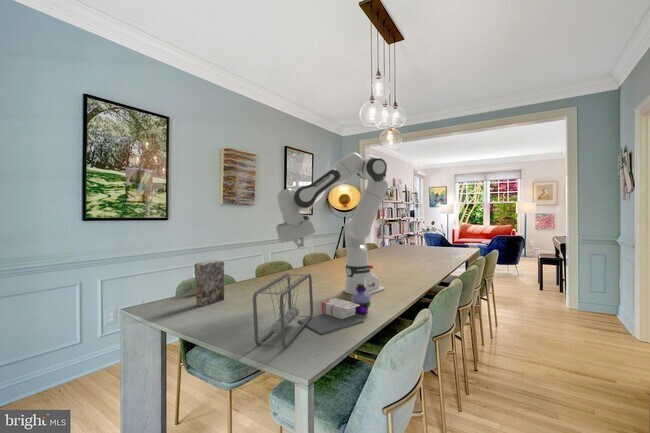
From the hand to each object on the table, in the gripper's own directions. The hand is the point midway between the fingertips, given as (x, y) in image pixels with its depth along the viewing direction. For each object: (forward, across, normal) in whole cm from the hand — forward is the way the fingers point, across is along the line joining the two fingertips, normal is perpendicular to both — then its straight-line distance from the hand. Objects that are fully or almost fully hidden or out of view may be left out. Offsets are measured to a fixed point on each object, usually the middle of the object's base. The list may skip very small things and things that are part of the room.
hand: (301, 247), depth 152 cm
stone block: (+12, -39, +30) cm, 51 cm away
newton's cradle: (+28, -32, -23) cm, 48 cm away
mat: (+32, -15, -26) cm, 44 cm away
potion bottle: (+35, +2, -26) cm, 43 cm away
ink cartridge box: (+28, -7, -17) cm, 33 cm away
